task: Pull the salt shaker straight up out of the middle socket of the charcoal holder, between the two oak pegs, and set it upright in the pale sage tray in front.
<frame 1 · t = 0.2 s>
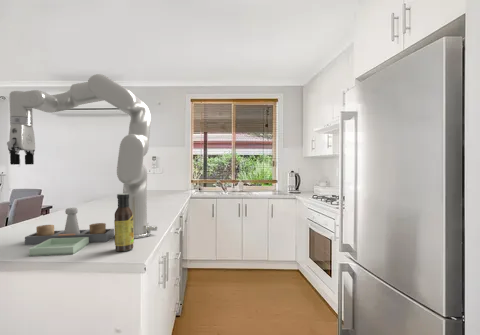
hand: (22, 164, 125), 31 cm above the worktop, tool pointing down, fingers open, 9 cm apart
socket holder: (72, 240, 124), on the worktop
sage tray: (61, 249, 111), on the worktop
sauce bottle: (124, 250, 109), on the worktop
salt shaker: (72, 240, 124), resting in socket holder
oak peg 2: (97, 239, 125), resting in socket holder
oak peg 1: (45, 241, 123), resting in socket holder
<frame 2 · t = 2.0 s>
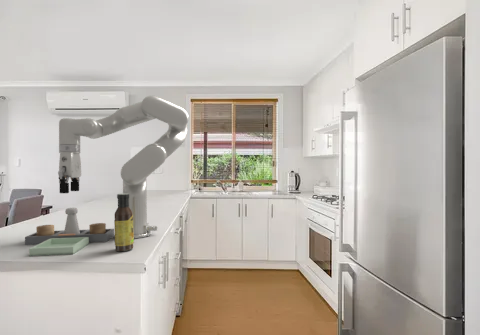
hand: (69, 192, 124), 19 cm above the worktop, tool pointing down, fingers open, 9 cm apart
nothing on the worktop moved.
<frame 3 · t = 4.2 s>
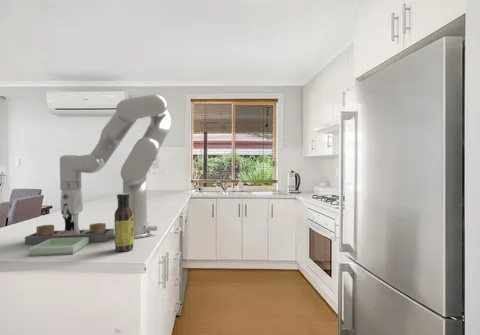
hand: (71, 230, 124), 4 cm above the worktop, tool pointing down, fingers closed on salt shaker, 3 cm apart
salt shaker: (72, 240, 124), resting in socket holder, touching gripper
everything else where it was.
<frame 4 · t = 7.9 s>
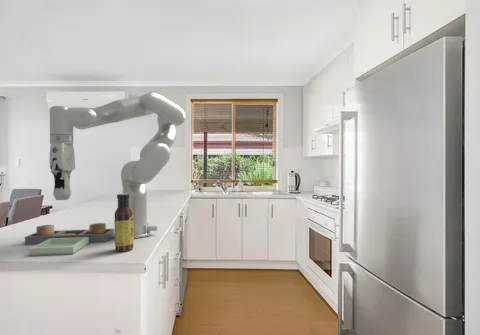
hand: (62, 189, 114), 21 cm above the worktop, tool pointing down, fingers closed on salt shaker, 3 cm apart
salt shaker: (62, 200, 114), point 17 cm above the worktop, touching gripper
everything else where it was.
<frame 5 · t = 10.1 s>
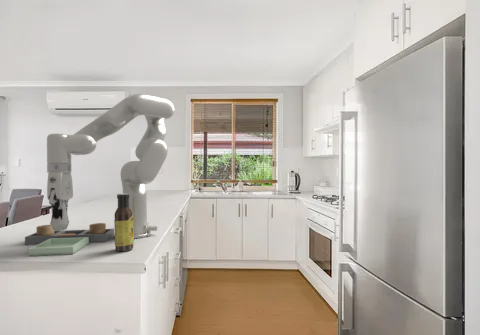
hand: (59, 219, 110), 11 cm above the worktop, tool pointing down, fingers closed on salt shaker, 3 cm apart
salt shaker: (59, 230, 110), point 7 cm above the worktop, touching gripper
everything else where it was.
when the fingers open (5 cm above the worktop, at t = 11.9 s): salt shaker stays where it is, resting on sage tray.
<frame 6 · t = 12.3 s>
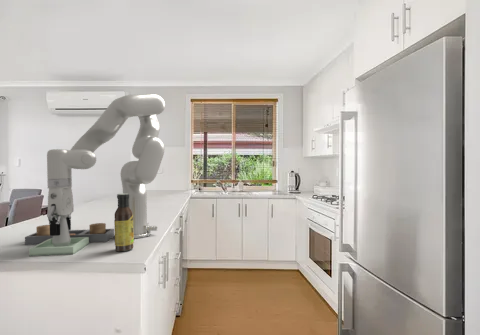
hand: (60, 232, 110), 6 cm above the worktop, tool pointing down, fingers open, 7 cm apart
salt shaker: (61, 248, 111), resting on sage tray
everything else where it was.
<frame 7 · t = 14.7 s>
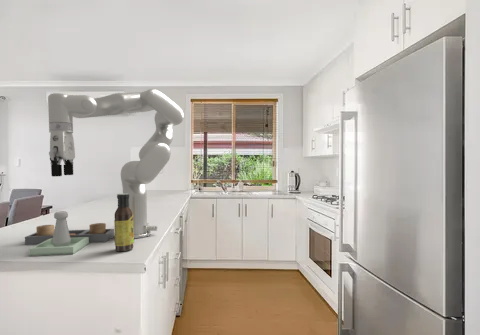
hand: (63, 175, 112), 26 cm above the worktop, tool pointing down, fingers open, 9 cm apart
nothing on the worktop moved.
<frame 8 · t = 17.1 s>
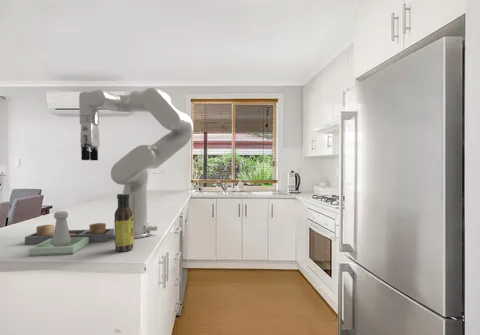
hand: (90, 160, 134), 32 cm above the worktop, tool pointing down, fingers open, 9 cm apart
nothing on the worktop moved.
at the end: salt shaker inside the target area on the sage tray (0.1 cm from its centre), point 0.4 cm above the sage tray's base; salt shaker tilted 0°; oak peg 2 moved 0.1 cm from its start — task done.
